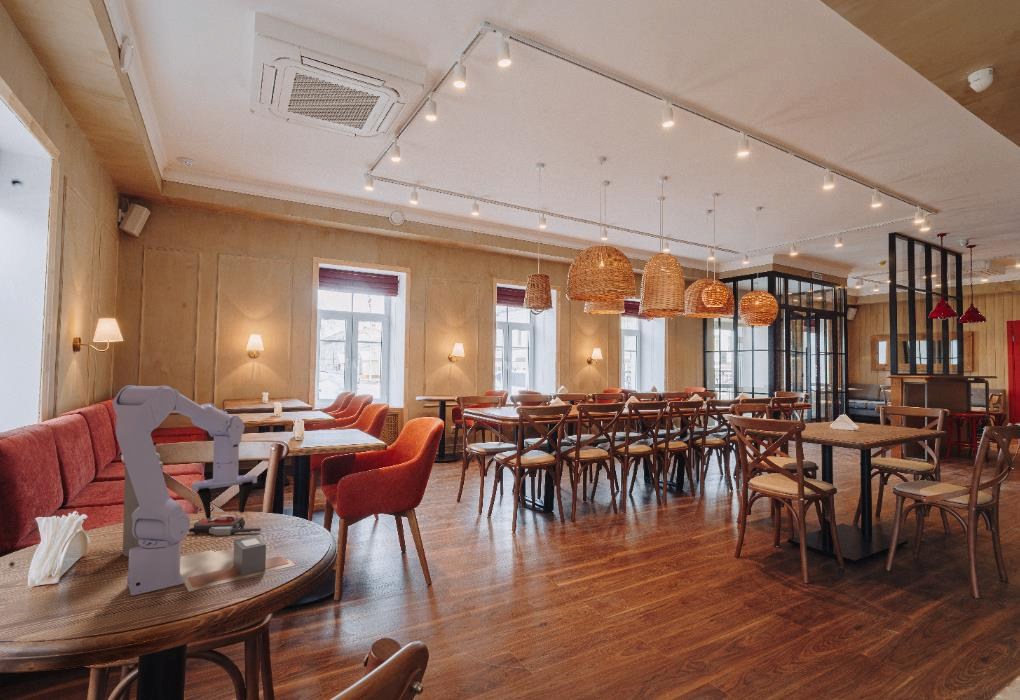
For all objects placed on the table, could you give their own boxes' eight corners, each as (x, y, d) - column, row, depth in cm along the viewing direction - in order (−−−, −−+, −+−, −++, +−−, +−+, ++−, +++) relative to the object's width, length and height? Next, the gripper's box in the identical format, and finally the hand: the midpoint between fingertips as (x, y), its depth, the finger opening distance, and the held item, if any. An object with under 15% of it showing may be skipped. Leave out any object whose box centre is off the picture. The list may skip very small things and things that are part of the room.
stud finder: (241, 576, 115) (242, 548, 115) (233, 565, 121) (233, 539, 121) (265, 570, 118) (265, 543, 119) (255, 560, 125) (256, 534, 125)
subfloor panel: (188, 592, 107) (188, 591, 107) (171, 558, 126) (171, 557, 126) (295, 565, 122) (295, 564, 122) (266, 538, 140) (266, 538, 140)
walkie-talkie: (184, 538, 141) (259, 536, 143) (184, 522, 141) (259, 520, 143) (199, 527, 150) (270, 525, 152) (200, 512, 150) (270, 511, 152)
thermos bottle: (127, 548, 132) (129, 440, 133) (163, 543, 136) (165, 438, 137) (118, 558, 125) (121, 445, 126) (157, 553, 129) (160, 443, 129)
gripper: (252, 456, 139) (251, 506, 139) (190, 463, 129) (189, 516, 129) (259, 460, 134) (258, 512, 133) (195, 467, 124) (194, 523, 124)
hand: (225, 514), depth 131 cm, fingers open, 7 cm apart
